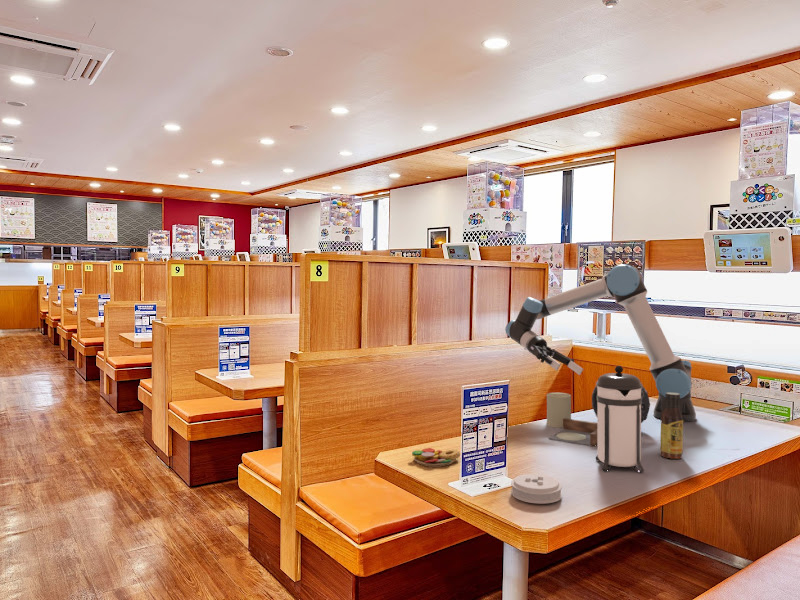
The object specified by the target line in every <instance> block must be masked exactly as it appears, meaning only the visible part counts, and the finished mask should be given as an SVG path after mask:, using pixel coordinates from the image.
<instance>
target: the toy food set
mask: <svg viewBox="0 0 800 600" xmlns="http://www.w3.org/2000/svg"><path fill="white" fill-rule="evenodd" d="M411 453H412V455H411V456H413V457H414V458H413V460H414V461H415V462H416V463H418V464H419V465H421V466H425V467H433V468H438V467H439V468H441V467H446V466H449V465H452V464H453V463H454V462H455V461H456V460H457V459H458V458H460V457H461V452H460V450H458V449H453V448H452V449H447V450H445V451H444V450H443V451H442V450H439V449H438V450H435V448H432V447H427V448H423V449H422V450H414V451H412V452H411Z"/></svg>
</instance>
